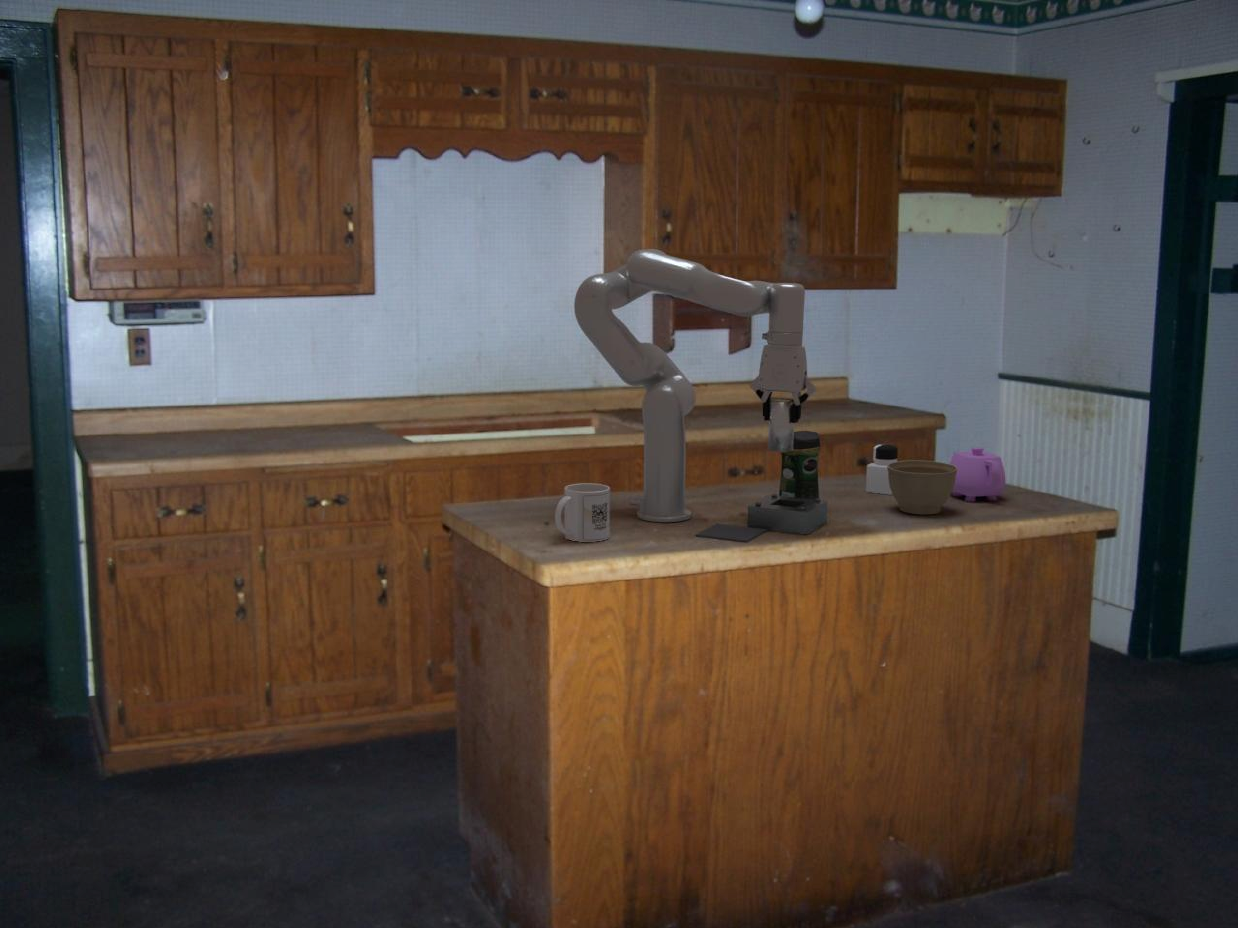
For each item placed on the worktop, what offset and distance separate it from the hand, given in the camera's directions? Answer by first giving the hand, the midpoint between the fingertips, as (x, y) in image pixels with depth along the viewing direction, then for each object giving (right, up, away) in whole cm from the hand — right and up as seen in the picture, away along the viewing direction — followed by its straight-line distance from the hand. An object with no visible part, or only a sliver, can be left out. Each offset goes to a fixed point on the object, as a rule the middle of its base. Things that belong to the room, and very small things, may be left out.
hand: (781, 420), depth 285 cm
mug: (-44, -26, -8) cm, 52 cm away
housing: (+2, -24, +5) cm, 24 cm away
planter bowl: (+36, -21, +21) cm, 46 cm away
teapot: (+53, -18, +37) cm, 68 cm away
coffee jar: (+7, -20, +24) cm, 32 cm away
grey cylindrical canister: (0, -6, +1) cm, 7 cm away
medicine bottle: (+32, -17, +44) cm, 57 cm away
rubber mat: (-11, -25, -3) cm, 28 cm away
